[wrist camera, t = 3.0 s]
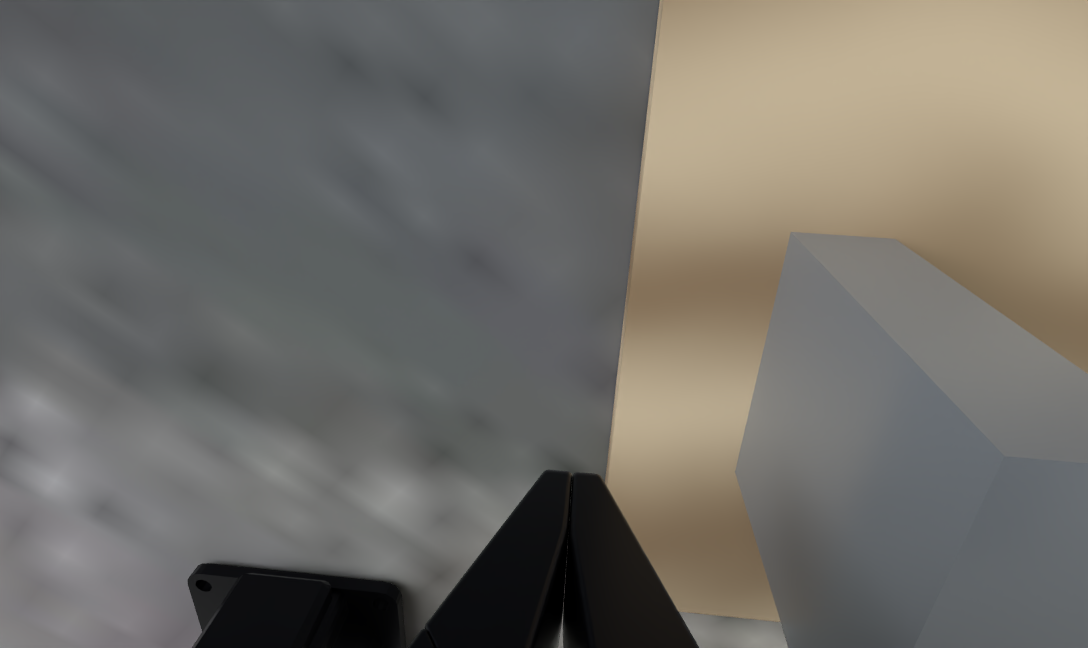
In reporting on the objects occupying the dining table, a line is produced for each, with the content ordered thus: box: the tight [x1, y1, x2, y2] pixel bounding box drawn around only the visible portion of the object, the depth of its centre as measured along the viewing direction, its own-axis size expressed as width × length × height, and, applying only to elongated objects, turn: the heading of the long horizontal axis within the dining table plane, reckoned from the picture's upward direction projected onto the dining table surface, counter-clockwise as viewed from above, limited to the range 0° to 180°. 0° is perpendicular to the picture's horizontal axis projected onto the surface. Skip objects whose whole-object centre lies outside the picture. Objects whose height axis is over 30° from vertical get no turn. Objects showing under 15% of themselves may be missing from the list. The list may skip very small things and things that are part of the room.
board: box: [605, 0, 1088, 622], centre depth 13 cm, size 18×16×1 cm
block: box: [735, 232, 1088, 648], centre depth 10 cm, size 6×2×7 cm, turn 177°
